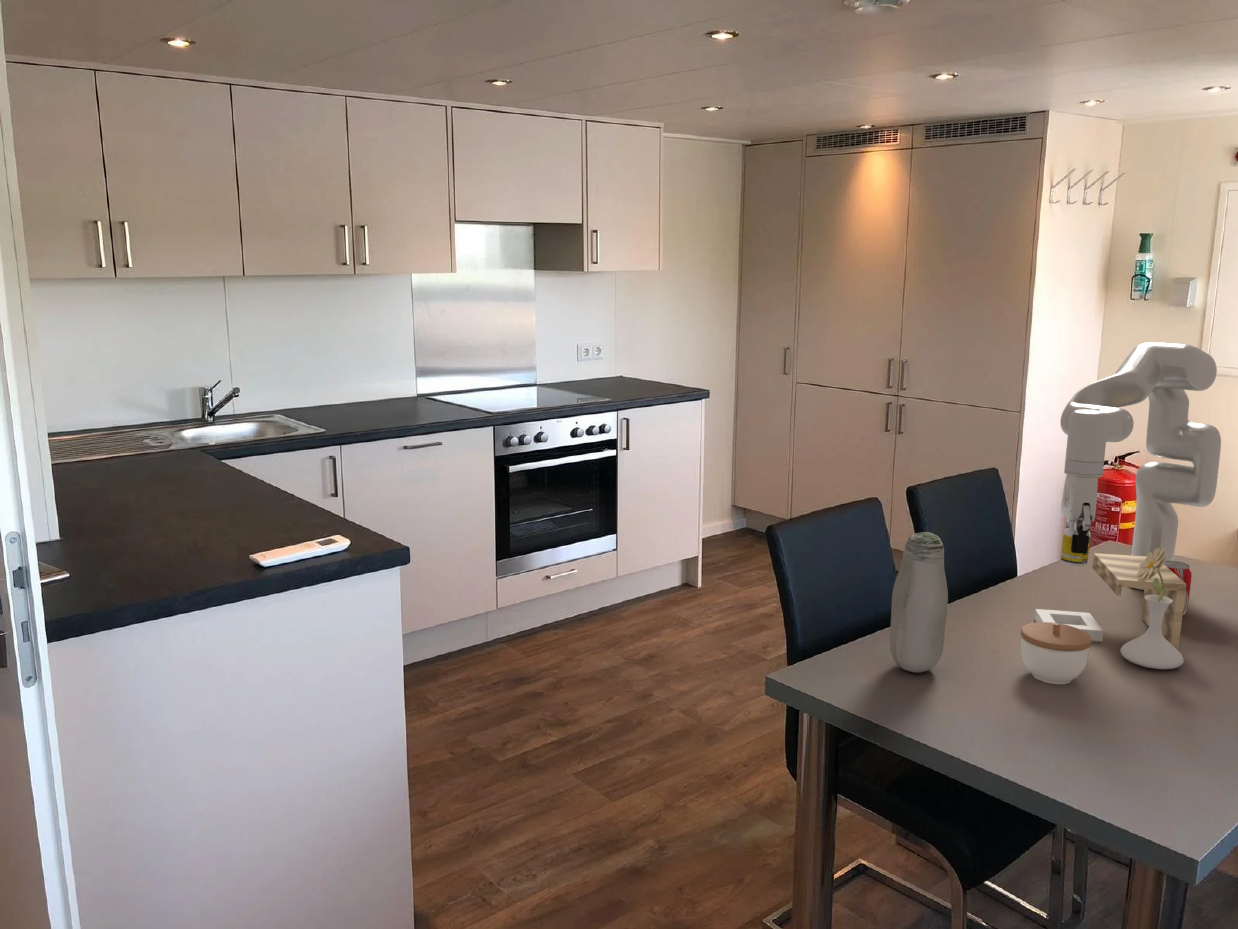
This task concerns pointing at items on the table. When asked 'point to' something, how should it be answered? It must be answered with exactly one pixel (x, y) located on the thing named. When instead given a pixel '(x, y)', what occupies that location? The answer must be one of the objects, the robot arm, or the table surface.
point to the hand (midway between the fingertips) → (1075, 548)
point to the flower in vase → (1153, 623)
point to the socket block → (1072, 621)
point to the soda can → (1181, 577)
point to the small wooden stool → (1123, 574)
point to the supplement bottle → (1066, 553)
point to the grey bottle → (919, 604)
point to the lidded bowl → (1054, 651)
